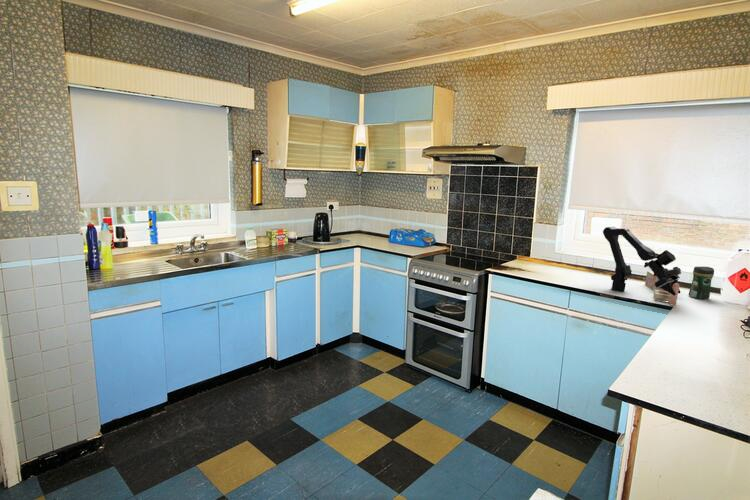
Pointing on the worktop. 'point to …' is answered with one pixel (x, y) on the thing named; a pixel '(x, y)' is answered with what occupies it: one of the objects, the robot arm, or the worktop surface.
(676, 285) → the needle peg
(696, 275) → the coffee jar
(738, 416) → the worktop surface
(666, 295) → the bead block
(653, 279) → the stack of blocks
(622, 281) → the robot arm
